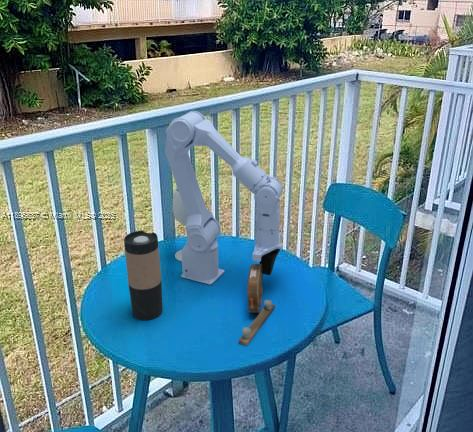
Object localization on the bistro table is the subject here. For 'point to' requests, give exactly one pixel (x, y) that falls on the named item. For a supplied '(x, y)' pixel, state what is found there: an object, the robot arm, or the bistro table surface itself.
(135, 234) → the travel mug
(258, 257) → the robot arm
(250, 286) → the tin
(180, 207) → the wineglass
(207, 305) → the bistro table surface
